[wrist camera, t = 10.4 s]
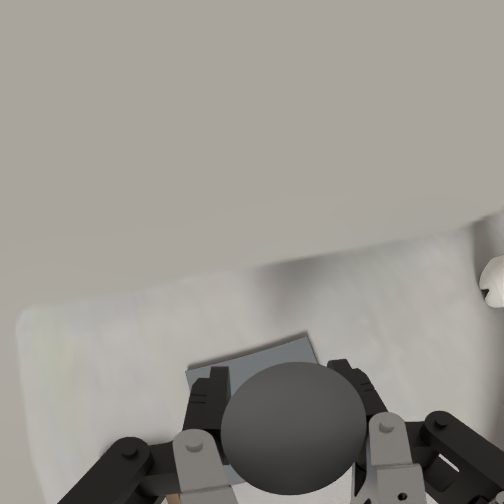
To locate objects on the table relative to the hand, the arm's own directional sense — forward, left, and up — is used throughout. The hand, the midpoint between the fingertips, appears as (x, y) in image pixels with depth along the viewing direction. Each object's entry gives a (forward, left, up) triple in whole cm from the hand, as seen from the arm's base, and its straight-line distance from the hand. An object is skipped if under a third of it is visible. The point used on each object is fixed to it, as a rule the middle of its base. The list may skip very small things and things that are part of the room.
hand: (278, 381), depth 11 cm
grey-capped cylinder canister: (+1, +2, -5) cm, 5 cm away
